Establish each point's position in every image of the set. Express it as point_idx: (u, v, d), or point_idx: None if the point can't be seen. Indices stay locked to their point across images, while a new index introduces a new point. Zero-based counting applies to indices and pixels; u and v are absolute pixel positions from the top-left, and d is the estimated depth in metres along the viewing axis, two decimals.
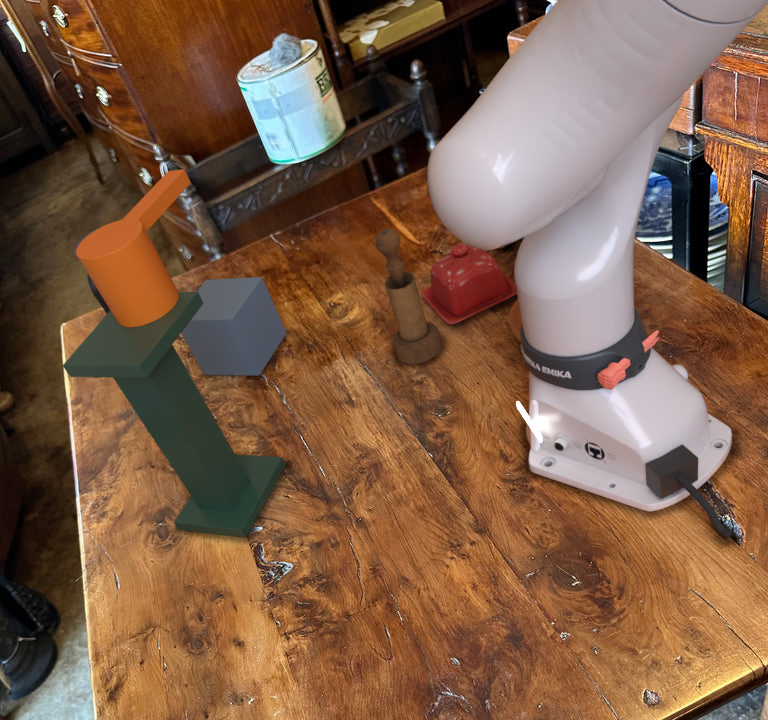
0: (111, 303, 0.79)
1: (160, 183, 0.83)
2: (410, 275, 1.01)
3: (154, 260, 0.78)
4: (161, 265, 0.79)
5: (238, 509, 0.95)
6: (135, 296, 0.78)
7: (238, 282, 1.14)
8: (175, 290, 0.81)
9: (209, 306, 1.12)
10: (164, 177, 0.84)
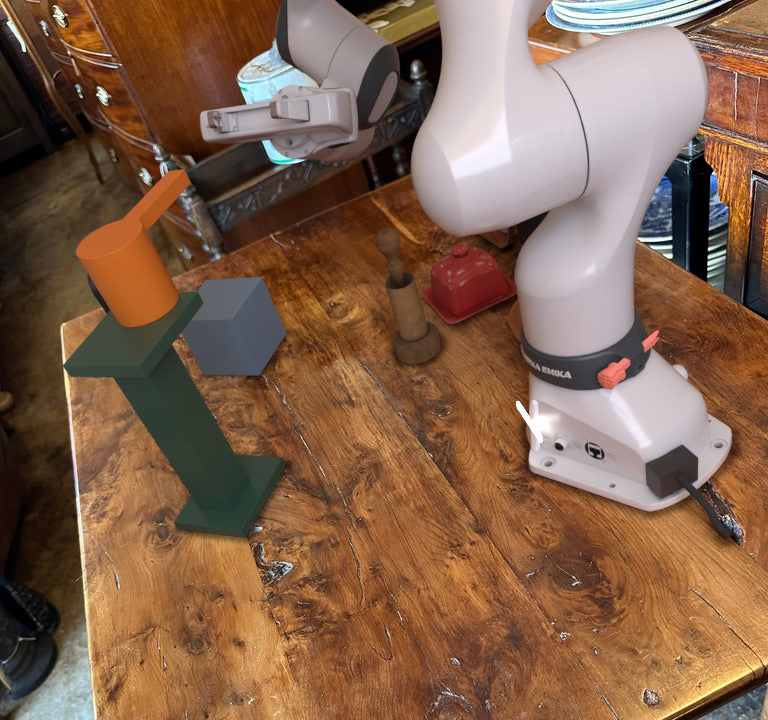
0: (111, 303, 0.79)
1: (160, 183, 0.83)
2: (410, 275, 1.01)
3: (154, 260, 0.78)
4: (161, 265, 0.79)
5: (238, 509, 0.95)
6: (135, 296, 0.78)
7: (238, 282, 1.14)
8: (175, 290, 0.81)
9: (209, 306, 1.12)
10: (164, 177, 0.84)
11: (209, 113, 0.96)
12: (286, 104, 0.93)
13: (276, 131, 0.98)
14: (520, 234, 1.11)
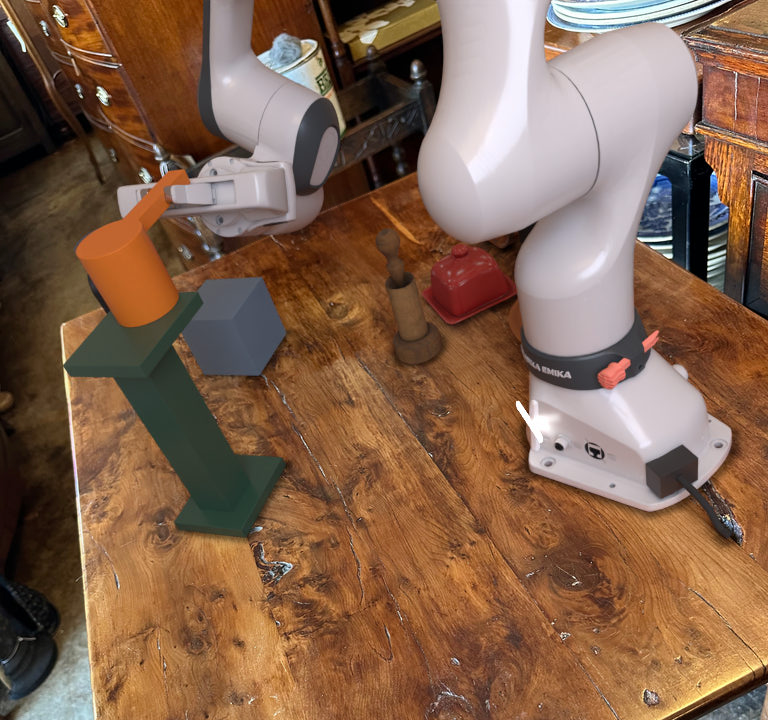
0: (111, 303, 0.79)
1: (160, 183, 0.83)
2: (410, 275, 1.01)
3: (154, 260, 0.78)
4: (161, 265, 0.79)
5: (238, 509, 0.95)
6: (135, 297, 0.78)
7: (238, 282, 1.14)
8: (175, 290, 0.81)
9: (209, 306, 1.12)
10: (164, 177, 0.84)
11: (143, 191, 0.83)
12: (183, 188, 0.82)
13: (200, 212, 0.86)
14: (520, 234, 1.11)
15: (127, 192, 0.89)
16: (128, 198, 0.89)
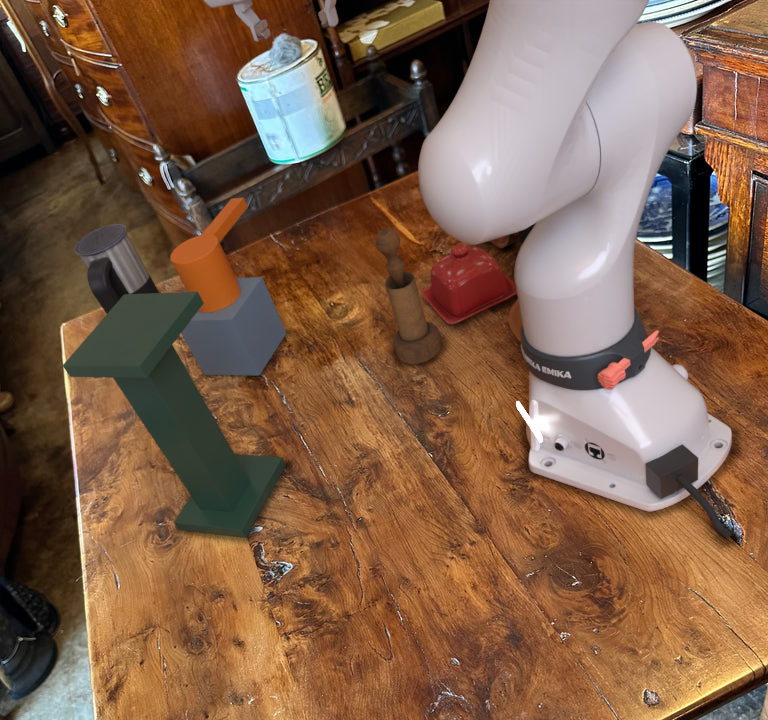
0: None
1: (227, 208, 1.14)
2: (410, 275, 1.01)
3: (225, 264, 1.08)
4: (230, 267, 1.10)
5: (238, 509, 0.95)
6: (212, 290, 1.08)
7: (238, 282, 1.14)
8: (238, 286, 1.12)
9: None
10: (229, 203, 1.15)
11: (262, 40, 0.96)
12: (331, 13, 0.91)
13: None
14: (520, 234, 1.11)
15: None
16: None
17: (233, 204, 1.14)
